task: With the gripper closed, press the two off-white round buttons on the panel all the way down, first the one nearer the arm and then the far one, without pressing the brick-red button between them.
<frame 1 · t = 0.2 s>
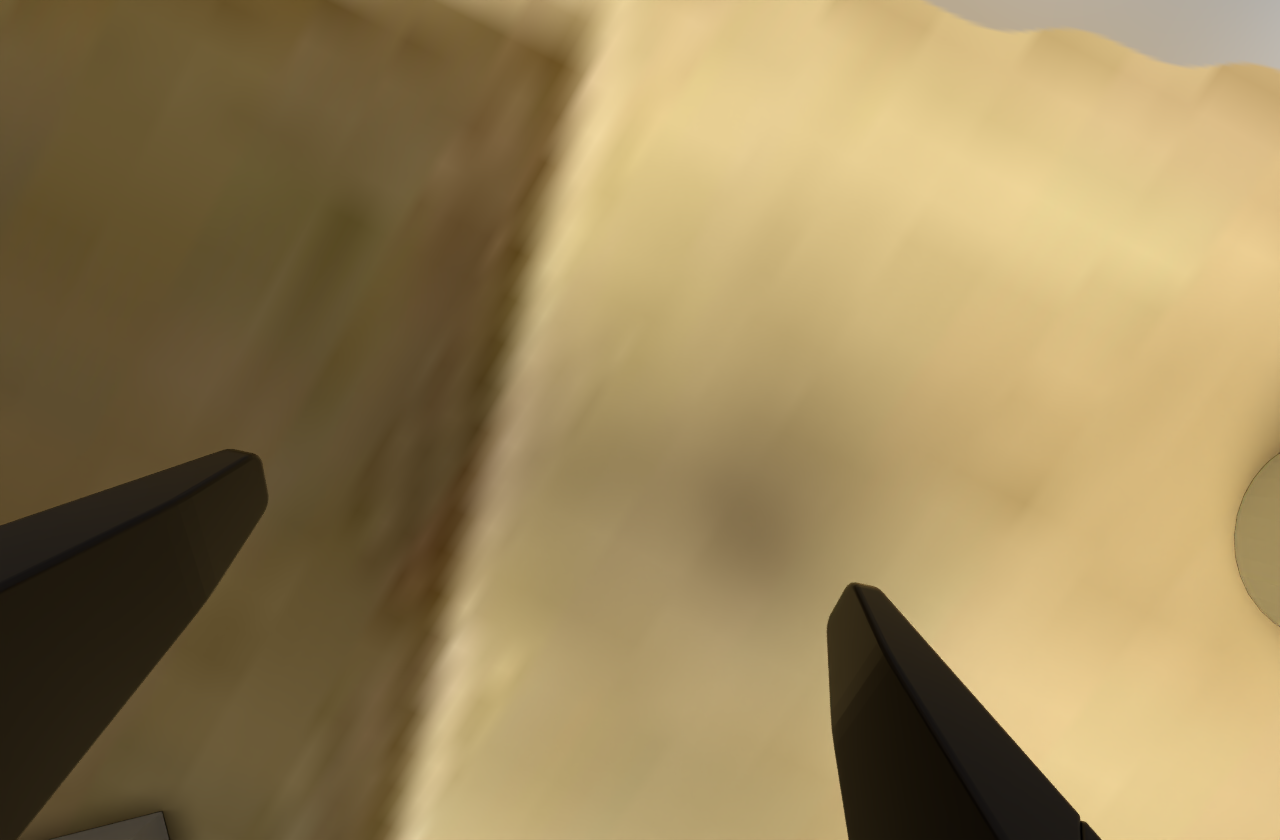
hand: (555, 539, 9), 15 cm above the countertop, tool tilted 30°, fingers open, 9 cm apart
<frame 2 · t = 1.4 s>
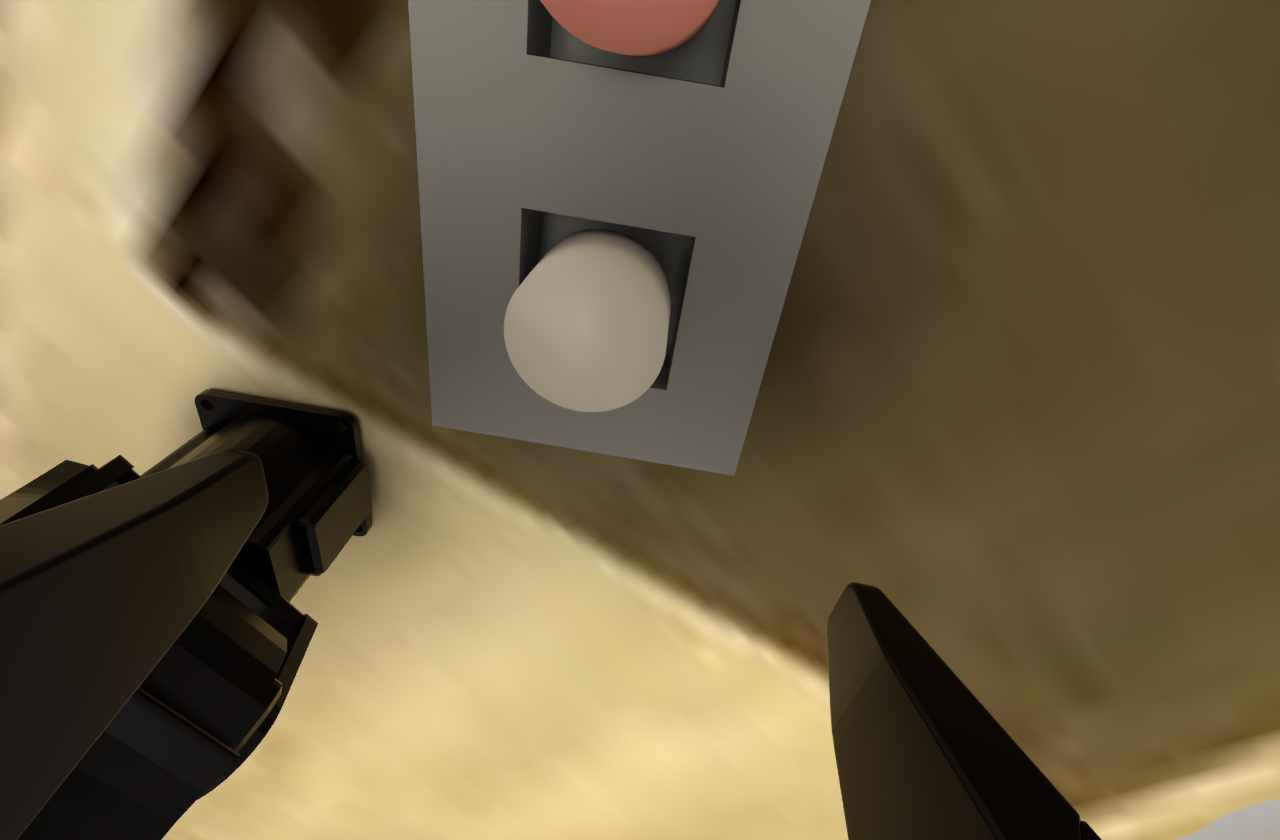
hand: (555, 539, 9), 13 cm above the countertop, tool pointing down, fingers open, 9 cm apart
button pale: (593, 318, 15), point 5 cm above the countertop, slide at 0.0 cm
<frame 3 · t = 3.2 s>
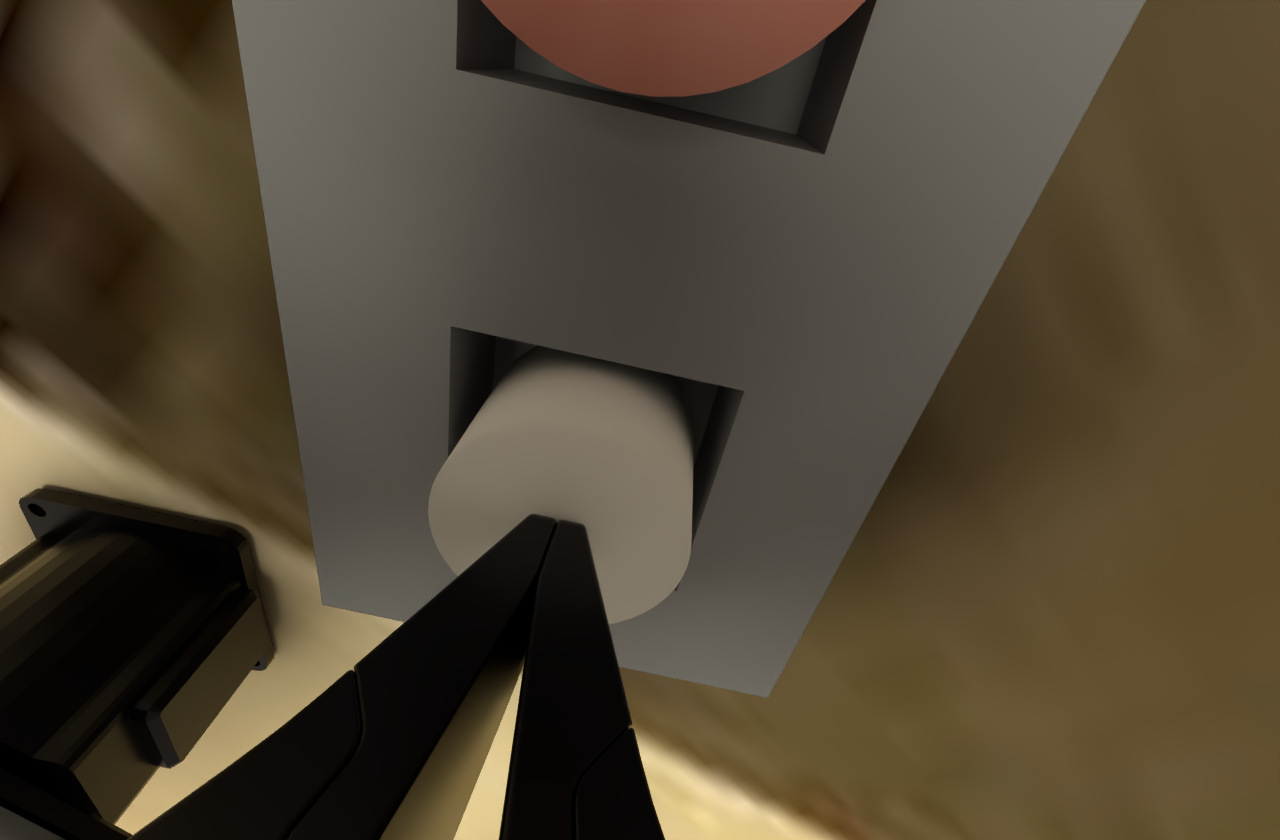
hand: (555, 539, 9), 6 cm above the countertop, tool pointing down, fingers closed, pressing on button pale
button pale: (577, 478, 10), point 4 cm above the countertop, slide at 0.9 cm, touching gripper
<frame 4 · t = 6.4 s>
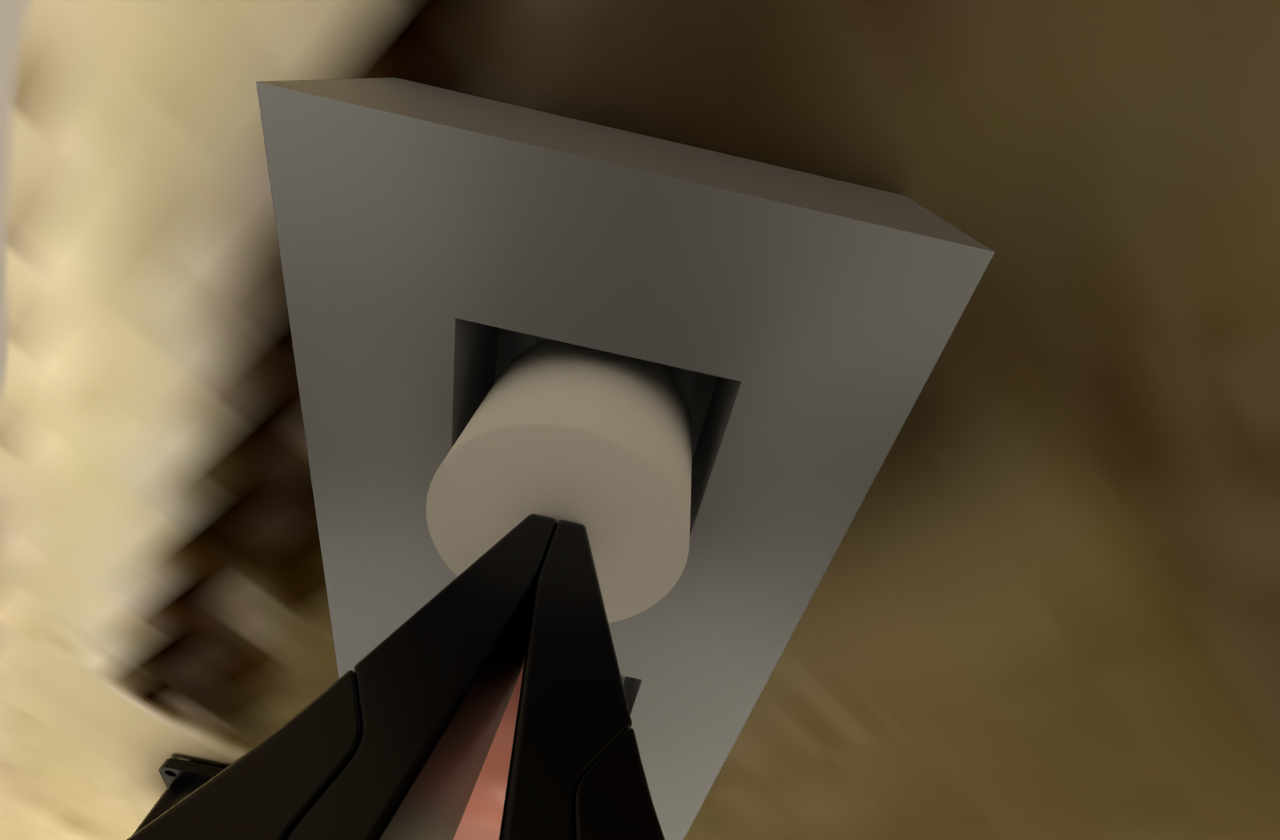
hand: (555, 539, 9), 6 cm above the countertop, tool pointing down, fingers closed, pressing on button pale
button red middle: (524, 755, 14), point 5 cm above the countertop, slide at 0.0 cm
button panel: (566, 591, 18), on the countertop
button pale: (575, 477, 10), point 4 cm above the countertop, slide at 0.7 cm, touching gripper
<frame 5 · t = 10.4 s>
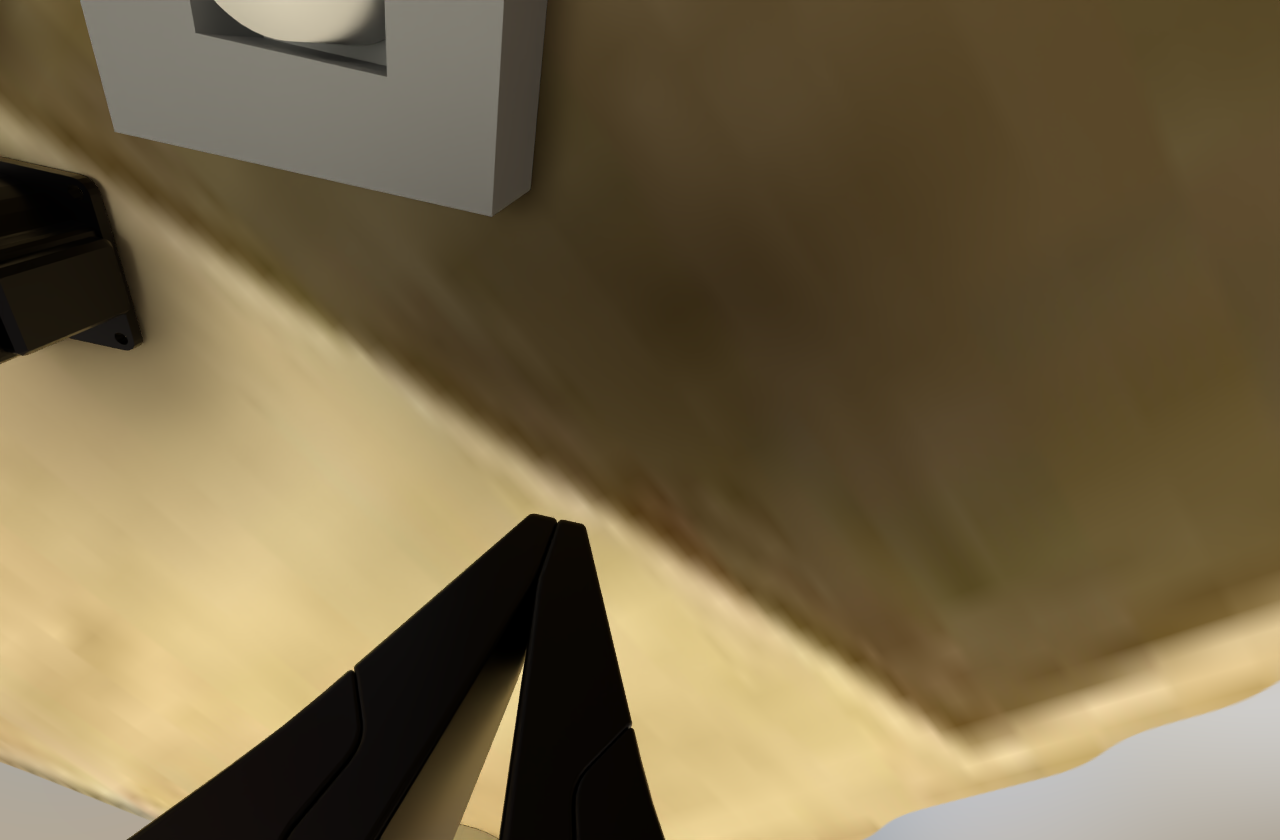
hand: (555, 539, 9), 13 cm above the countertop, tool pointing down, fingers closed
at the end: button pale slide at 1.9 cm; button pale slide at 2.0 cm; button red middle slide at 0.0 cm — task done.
